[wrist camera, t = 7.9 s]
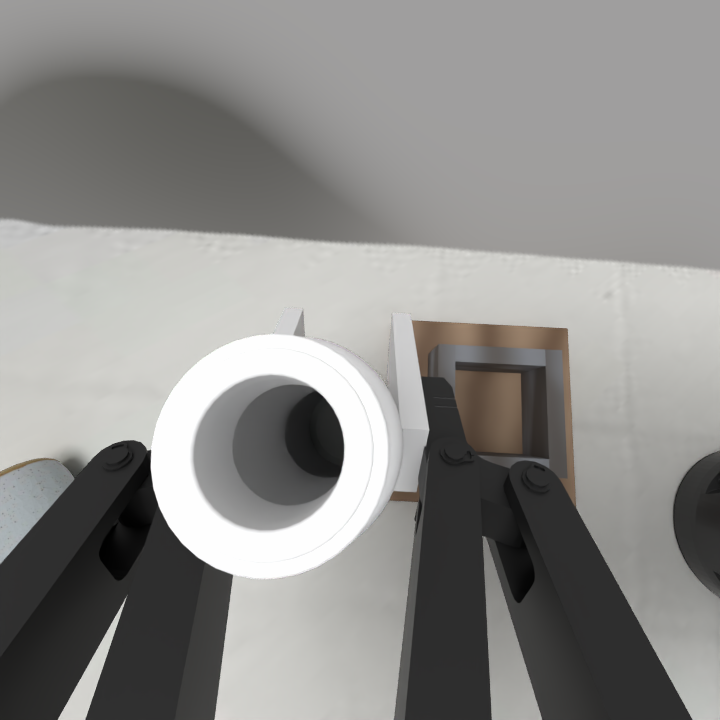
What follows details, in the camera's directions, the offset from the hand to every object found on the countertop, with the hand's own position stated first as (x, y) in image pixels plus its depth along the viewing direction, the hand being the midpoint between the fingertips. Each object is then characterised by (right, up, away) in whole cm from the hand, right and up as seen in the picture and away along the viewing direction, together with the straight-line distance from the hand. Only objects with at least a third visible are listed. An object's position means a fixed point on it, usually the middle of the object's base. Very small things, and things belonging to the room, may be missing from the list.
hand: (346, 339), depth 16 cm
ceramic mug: (-29, -17, +20) cm, 40 cm away
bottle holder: (+13, -6, +22) cm, 26 cm away
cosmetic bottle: (0, -5, +10) cm, 11 cm away
